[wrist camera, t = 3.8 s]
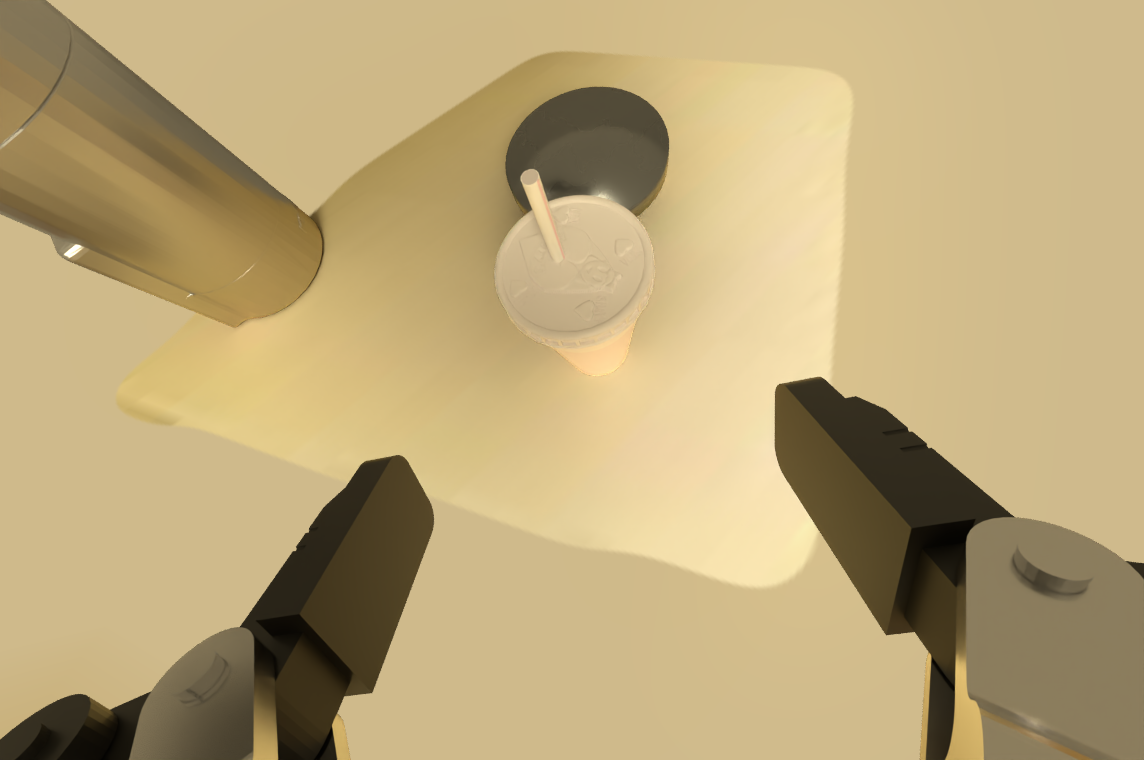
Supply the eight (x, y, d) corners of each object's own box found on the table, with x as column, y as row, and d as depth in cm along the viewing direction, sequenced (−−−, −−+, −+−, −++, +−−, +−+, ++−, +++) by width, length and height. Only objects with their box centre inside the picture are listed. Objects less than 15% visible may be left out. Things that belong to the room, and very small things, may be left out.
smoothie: (578, 283, 26) (511, 72, 13) (670, 323, 25) (701, 127, 11) (527, 369, 26) (400, 235, 12) (620, 417, 24) (589, 322, 10)
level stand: (581, 283, 26) (573, 256, 23) (492, 192, 29) (475, 157, 26) (698, 185, 27) (705, 146, 24) (599, 105, 30) (594, 61, 27)
